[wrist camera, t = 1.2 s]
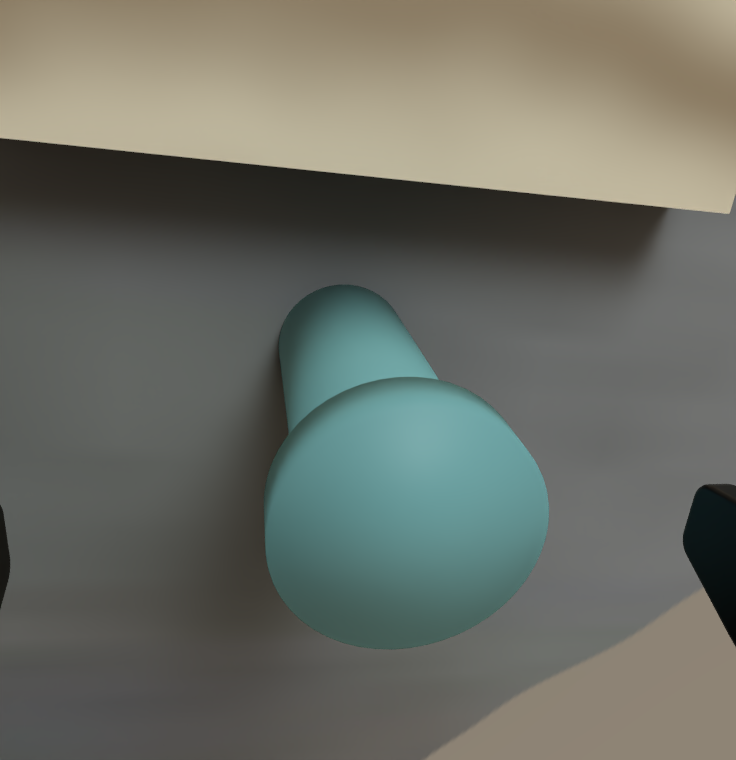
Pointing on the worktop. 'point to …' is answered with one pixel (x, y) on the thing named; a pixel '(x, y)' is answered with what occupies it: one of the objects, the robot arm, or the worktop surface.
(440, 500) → the peg
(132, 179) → the worktop surface
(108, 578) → the worktop surface
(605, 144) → the keyhole board
